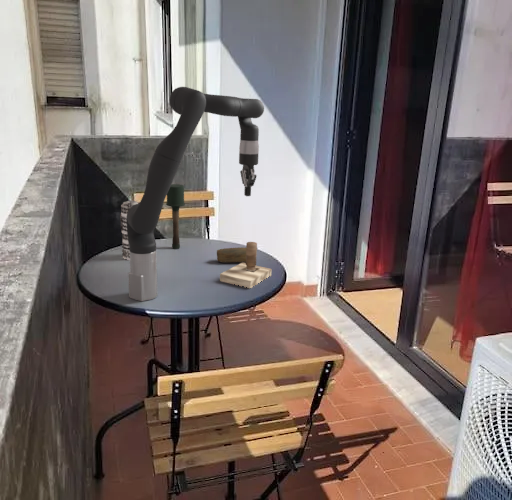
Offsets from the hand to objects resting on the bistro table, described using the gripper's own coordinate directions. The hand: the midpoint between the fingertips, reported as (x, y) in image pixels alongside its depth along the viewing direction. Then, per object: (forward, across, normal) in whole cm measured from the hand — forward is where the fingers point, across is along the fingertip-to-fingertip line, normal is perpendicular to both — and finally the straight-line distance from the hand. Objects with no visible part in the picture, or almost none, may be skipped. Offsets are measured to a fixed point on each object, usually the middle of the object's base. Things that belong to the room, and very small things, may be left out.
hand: (247, 195), depth 196 cm
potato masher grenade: (+32, +38, +22) cm, 54 cm away
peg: (+32, -6, 0) cm, 33 cm away
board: (+32, -9, +2) cm, 33 cm away
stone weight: (+32, +12, +1) cm, 35 cm away
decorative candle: (+32, +29, +43) cm, 61 cm away
